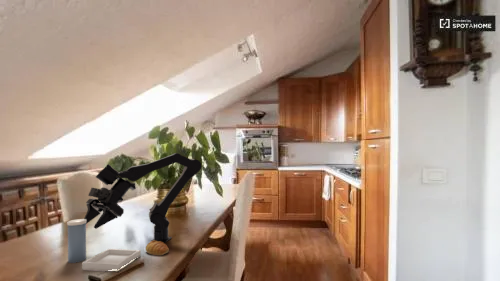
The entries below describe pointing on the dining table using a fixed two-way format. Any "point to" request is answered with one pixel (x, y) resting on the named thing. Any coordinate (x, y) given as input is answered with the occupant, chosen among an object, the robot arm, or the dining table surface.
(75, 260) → the blue cylindrical canister
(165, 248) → the pastry
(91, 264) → the tray
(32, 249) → the dining table surface
